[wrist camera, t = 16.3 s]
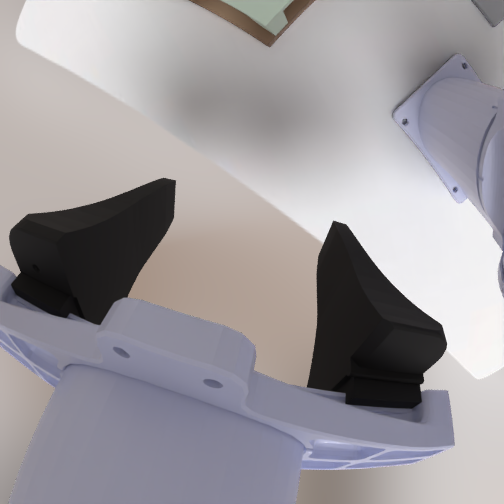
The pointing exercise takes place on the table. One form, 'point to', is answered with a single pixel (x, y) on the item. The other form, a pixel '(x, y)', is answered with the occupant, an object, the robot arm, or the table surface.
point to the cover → (264, 12)
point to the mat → (491, 10)
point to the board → (243, 21)
